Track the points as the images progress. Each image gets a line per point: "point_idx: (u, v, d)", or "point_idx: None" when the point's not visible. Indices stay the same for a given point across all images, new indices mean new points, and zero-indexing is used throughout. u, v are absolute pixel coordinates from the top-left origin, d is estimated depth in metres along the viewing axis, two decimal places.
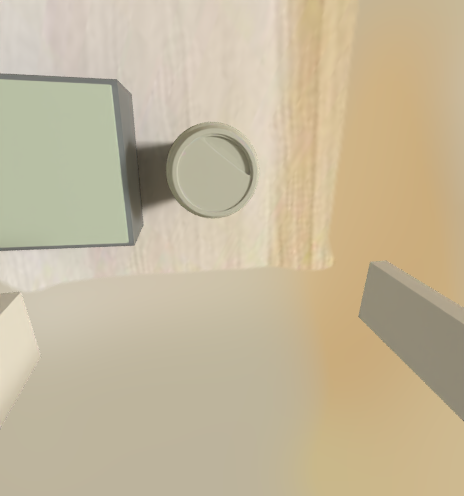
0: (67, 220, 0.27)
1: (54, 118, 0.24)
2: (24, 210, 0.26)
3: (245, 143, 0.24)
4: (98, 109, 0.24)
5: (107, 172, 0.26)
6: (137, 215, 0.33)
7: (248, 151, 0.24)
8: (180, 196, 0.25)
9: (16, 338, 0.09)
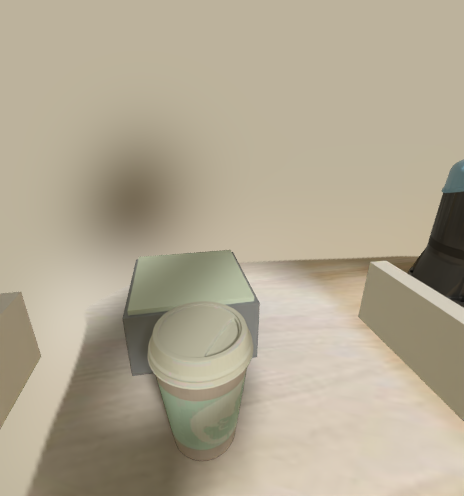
0: (153, 284, 0.36)
1: (223, 279, 0.37)
2: (162, 271, 0.39)
3: (239, 344, 0.21)
4: (235, 293, 0.34)
5: (191, 298, 0.33)
6: None
7: (231, 347, 0.21)
8: (175, 307, 0.25)
9: (16, 338, 0.09)
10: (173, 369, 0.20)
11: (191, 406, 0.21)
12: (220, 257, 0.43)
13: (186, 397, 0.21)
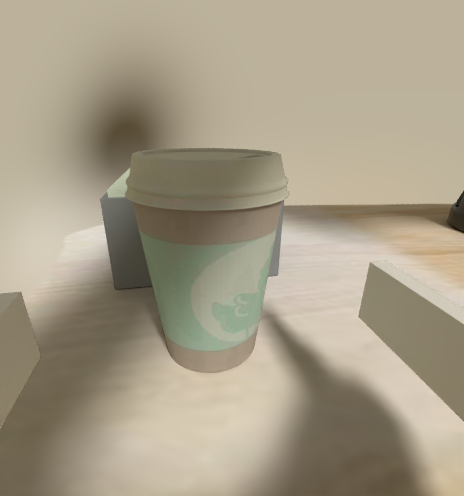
0: None
1: None
2: None
3: (271, 156, 0.13)
4: None
5: None
6: (136, 244, 0.24)
7: (259, 157, 0.13)
8: None
9: (16, 338, 0.09)
10: (163, 179, 0.12)
11: (193, 257, 0.13)
12: None
13: (184, 237, 0.13)
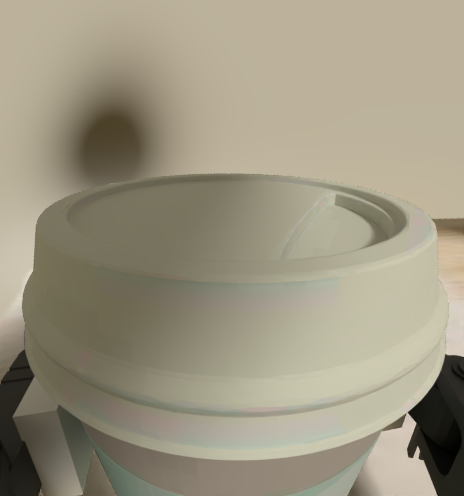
0: None
1: None
2: None
3: (429, 226, 0.05)
4: None
5: None
6: None
7: (407, 233, 0.04)
8: (154, 177, 0.09)
9: None
10: (102, 332, 0.03)
11: None
12: None
13: (179, 482, 0.04)
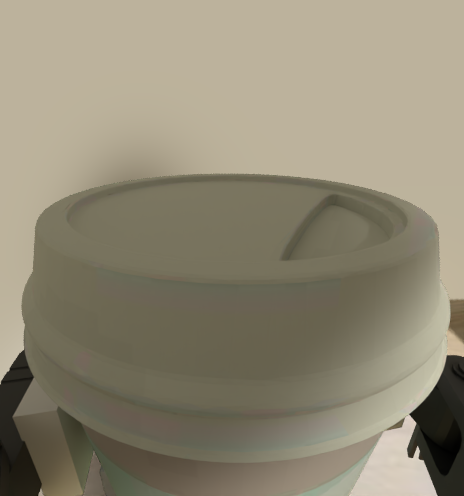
0: None
1: None
2: None
3: (430, 227, 0.04)
4: None
5: None
6: None
7: (409, 234, 0.04)
8: None
9: None
10: (101, 334, 0.03)
11: None
12: None
13: (179, 484, 0.04)
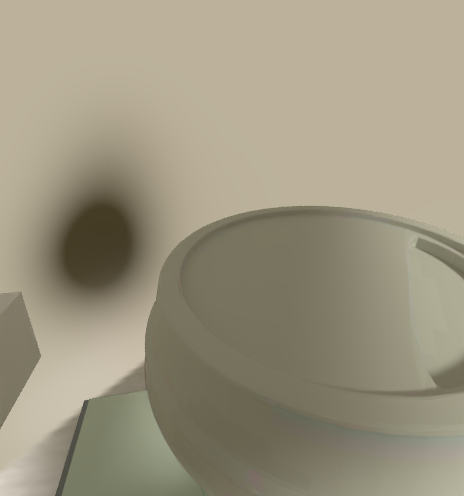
0: None
1: None
2: (143, 488, 0.13)
3: None
4: None
5: None
6: None
7: None
8: (224, 218, 0.09)
9: (16, 338, 0.09)
10: (276, 461, 0.04)
11: None
12: None
13: None
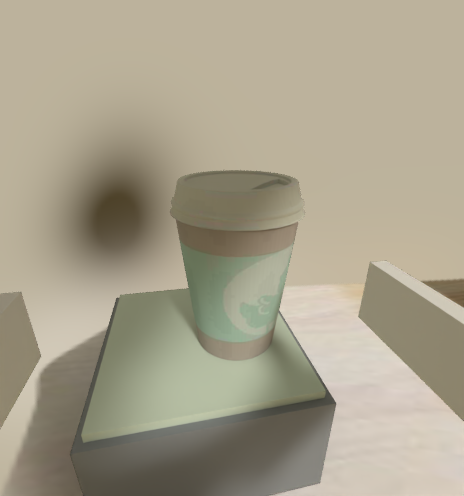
0: (139, 357, 0.20)
1: None
2: (155, 324, 0.24)
3: (291, 185, 0.16)
4: (289, 380, 0.18)
5: (208, 395, 0.17)
6: (125, 490, 0.17)
7: (282, 186, 0.16)
8: None
9: (16, 338, 0.09)
10: (206, 205, 0.15)
11: (227, 266, 0.16)
12: None
13: (221, 250, 0.16)
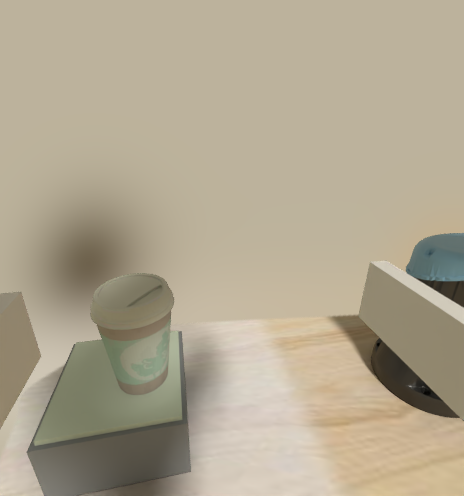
0: (77, 392, 0.33)
1: None
2: (93, 368, 0.36)
3: (154, 300, 0.28)
4: (163, 409, 0.31)
5: (111, 418, 0.30)
6: (61, 473, 0.29)
7: (147, 302, 0.28)
8: None
9: (16, 338, 0.09)
10: (102, 315, 0.27)
11: (118, 345, 0.29)
12: None
13: (113, 337, 0.28)
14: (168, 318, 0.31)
